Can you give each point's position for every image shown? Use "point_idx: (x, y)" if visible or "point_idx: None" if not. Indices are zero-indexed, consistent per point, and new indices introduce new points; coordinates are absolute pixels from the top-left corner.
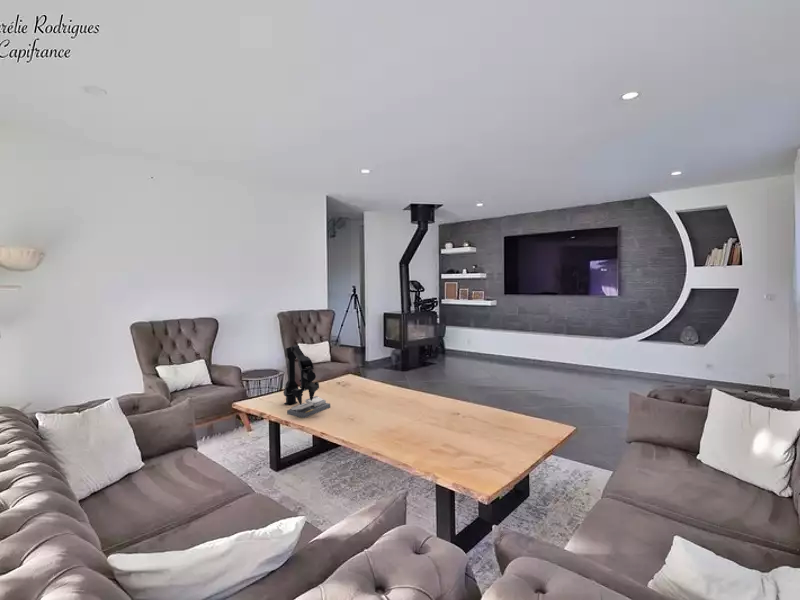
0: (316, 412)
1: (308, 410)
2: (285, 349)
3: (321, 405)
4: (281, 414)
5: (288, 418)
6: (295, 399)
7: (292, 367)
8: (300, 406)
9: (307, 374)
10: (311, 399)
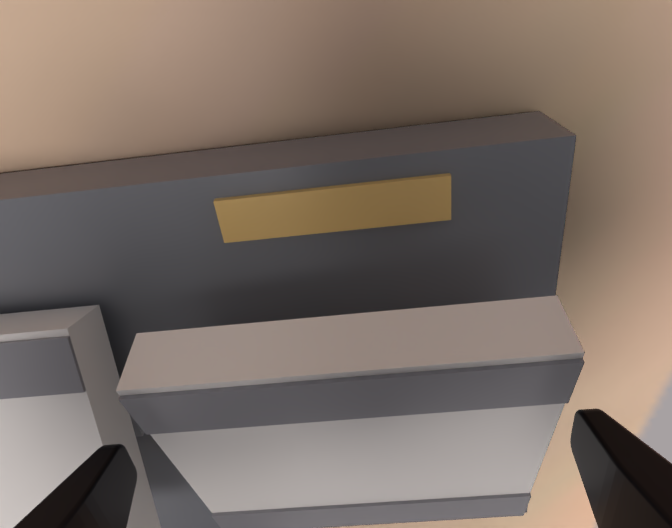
0: (164, 158)
1: (325, 252)
2: None
3: None
4: (540, 496)
5: (651, 326)
6: None
7: None
8: (580, 371)
9: None
10: (108, 479)
